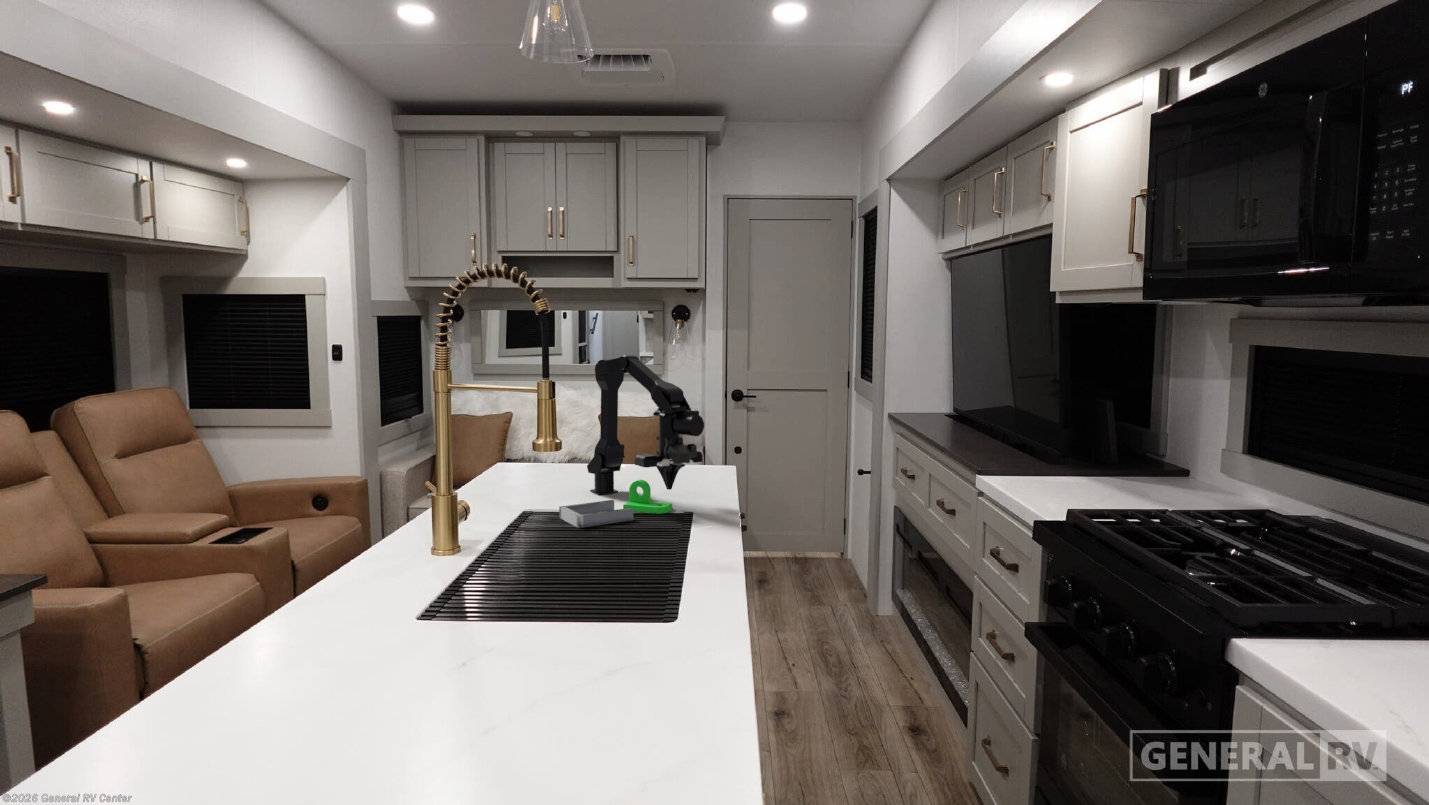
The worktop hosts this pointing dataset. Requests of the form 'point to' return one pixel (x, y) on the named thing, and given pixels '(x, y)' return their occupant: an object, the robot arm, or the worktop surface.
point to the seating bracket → (594, 514)
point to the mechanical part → (645, 500)
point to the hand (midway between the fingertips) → (669, 489)
